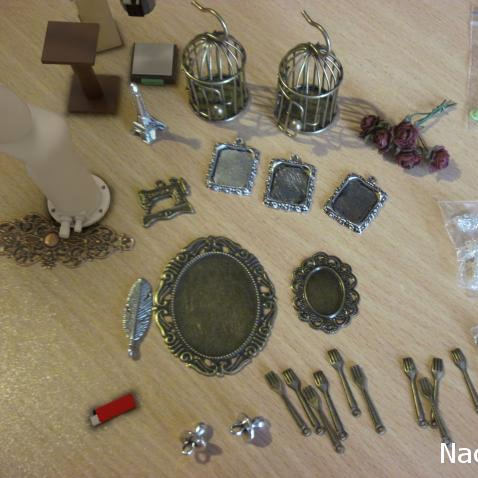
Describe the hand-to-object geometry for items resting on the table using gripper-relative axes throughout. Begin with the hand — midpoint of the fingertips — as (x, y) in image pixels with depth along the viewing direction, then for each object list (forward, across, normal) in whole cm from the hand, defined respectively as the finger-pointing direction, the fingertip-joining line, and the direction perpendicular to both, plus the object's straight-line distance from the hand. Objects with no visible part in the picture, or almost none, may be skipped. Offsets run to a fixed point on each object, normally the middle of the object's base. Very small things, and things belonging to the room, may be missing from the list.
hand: (138, 0), depth 113 cm
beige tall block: (+21, +8, +13) cm, 26 cm away
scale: (+21, 0, 0) cm, 21 cm away
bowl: (+1, 0, 0) cm, 1 cm away
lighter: (+20, -79, +2) cm, 82 cm away
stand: (+21, -9, +13) cm, 26 cm away
